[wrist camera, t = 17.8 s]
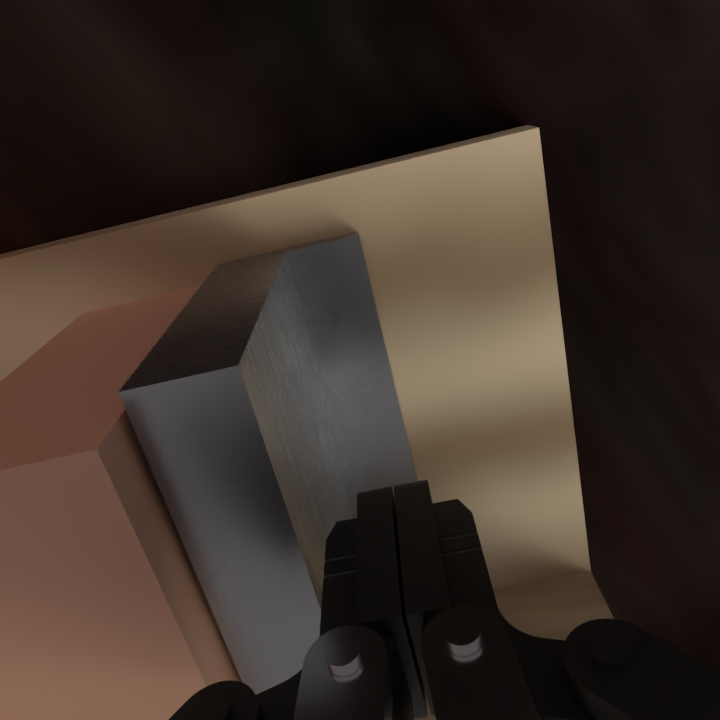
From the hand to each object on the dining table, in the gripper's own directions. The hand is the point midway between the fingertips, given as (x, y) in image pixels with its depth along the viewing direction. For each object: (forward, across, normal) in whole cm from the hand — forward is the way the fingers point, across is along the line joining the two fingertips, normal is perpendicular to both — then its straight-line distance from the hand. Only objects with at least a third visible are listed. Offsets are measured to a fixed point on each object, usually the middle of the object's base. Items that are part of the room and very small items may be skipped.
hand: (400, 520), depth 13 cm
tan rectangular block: (+6, +6, 0) cm, 9 cm away
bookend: (+6, +2, 0) cm, 7 cm away
